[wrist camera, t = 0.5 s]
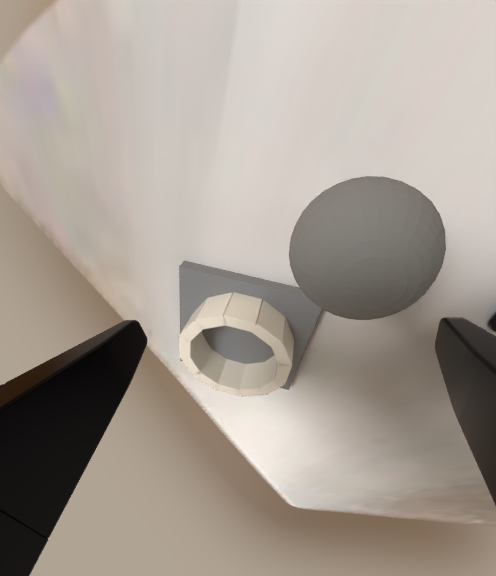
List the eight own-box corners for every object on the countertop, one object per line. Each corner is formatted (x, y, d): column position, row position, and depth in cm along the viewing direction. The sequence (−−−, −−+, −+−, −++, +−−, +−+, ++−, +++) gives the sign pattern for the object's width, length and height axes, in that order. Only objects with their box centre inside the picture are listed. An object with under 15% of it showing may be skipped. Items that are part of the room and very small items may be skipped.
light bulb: (360, 259, 19) (399, 370, 10) (283, 230, 19) (262, 319, 10) (415, 175, 15) (538, 243, 7) (320, 139, 15) (332, 166, 7)
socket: (324, 293, 21) (326, 326, 18) (289, 381, 28) (286, 417, 24) (184, 260, 22) (162, 286, 18) (184, 353, 29) (168, 384, 25)
